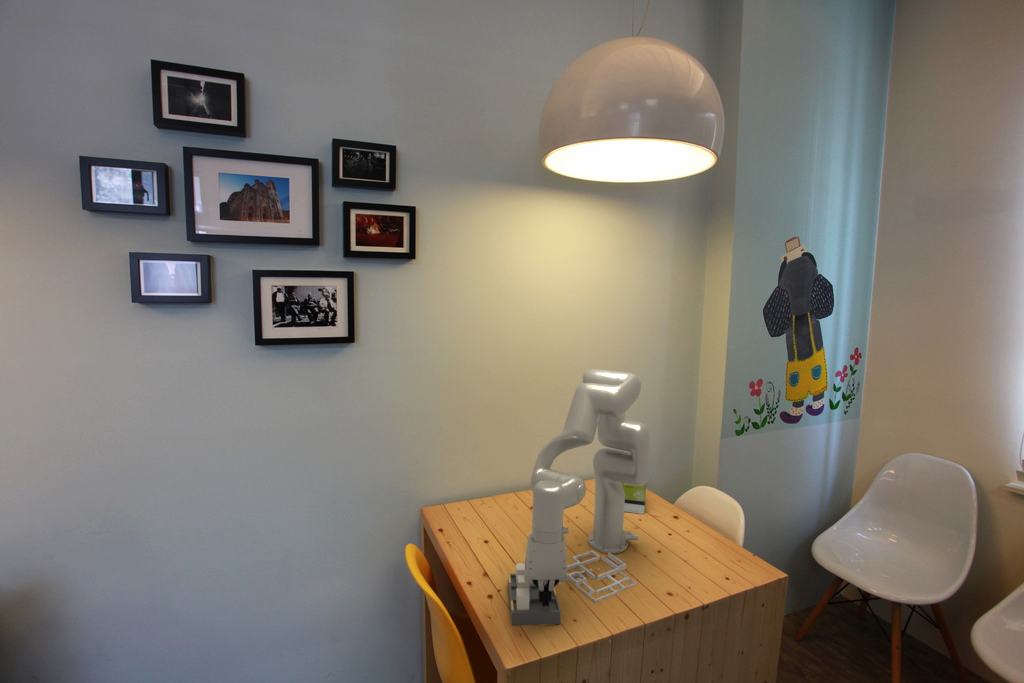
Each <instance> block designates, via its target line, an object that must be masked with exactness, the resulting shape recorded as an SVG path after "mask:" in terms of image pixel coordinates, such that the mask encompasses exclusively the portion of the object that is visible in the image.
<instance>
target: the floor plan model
mask: <svg viewBox="0 0 1024 683" xmlns="http://www.w3.org/2000/svg"><path fill="white" fill-rule="evenodd" d="M590 555H592V556H594V557H592V558H589V559H587V560H583V561H580V560H579V559H582V558H585V557H587V556H590ZM600 557H601V556H600V555H599V554H598V553H597V552H595V551H594V550H593V549H592V550H589V551H586V552H584V553H580V554H578V555H575V556H572V558H571V560H572V561H573V562H574V563H571V564H569V565H568V564H567V581H569V582H570V583H571V584H573V585H574V586H575V587H576V588H577V589H578V590H579V591H580V592H582V594H584V596H586V597H587V598H588V599H589V600H591V601H592V602H593V603H594V604H596V603H598V602H601V601H604V600H606V599H608V598H611V597H613V596H615V595H617V594H618V593H620V592H622V590H623V591H624V590H627V589H629V588H633V587H634V585H635V586H636V585H637V582H636V581H635V580H634V579H632V578H631V577H629V576H628V575H626V574H625V573H624V572H622V571H623V570H626V569H627V564H626V563H625V562H623V561H622V560H621V559H620V558H618V557H617V556H615V555H614V554H612V553H609V552H608V553H607V557H606V556H605V555H602V558H600ZM608 558H609V559H608ZM600 559H601V561H603V562H604V563H606V564H607V565H608V566H610V568H612V569H609V568H607V569H606V568H604V571H605V572H603V573H600V574H597V575H595V574H594V573H593V572H595V570H594V569H593V568H589V569H587V568H586V567H585V566H586V565H589V564H591V563H594V562H598V561H600ZM615 563H616V564H615ZM574 569H579V570H580V571H578V570H576V571H573V572H570V573H568V572H569V571H571V570H574ZM597 570H600V568H599V567H597ZM607 570H608V571H607ZM616 574H620V575H621V576H623V577H622V579H620V580H619V578H618V577H616V578H614V577H612V576H613V575H616ZM584 575H587V576H588V577H589V578H590V579H591V580H592V581H594V580H597V581H602V580H603V579H606V578H607V579H608V580H609V581H610V582H611V584H609V585H607V586H604V587H601V588H599V586H598V585H597V584H596V585H594V588H596V589H597V588H599V589H597V590H595V589H594V588H592V587H591V586H589V584H587V579H588V578H587V577H585V576H584ZM627 581H629V582H630V583H631V584H628V585H625V586H624V585H623V583H625V582H627ZM581 585H582V586H584V588H586V589H587V590H588V591H589V592H587V591H586V590H584V589H583V588H582V587H580V586H581ZM616 587H619V588H618V589H614V588H616ZM608 590H609V591H611V592H610V593H608V594H605V595H603V596H598V598H594V597H593V596H592V595H594V593H595V594H596V595H599V594H602V593H603V592H605V591H606V592H607V591H608Z"/></svg>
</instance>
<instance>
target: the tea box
mask: <svg viewBox="0 0 1024 683" xmlns="http://www.w3.org/2000/svg"><path fill="white" fill-rule="evenodd" d="M621 484H622V486H623V489H624V492H625V502H624V513H625V512H626V513H632V514H639V515H644V514H645V508H646V495H647V494H646V493H647V482H646V483H645V484H644V485H642V486H636V485H631V484H627V483H623V482H621Z"/></svg>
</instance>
